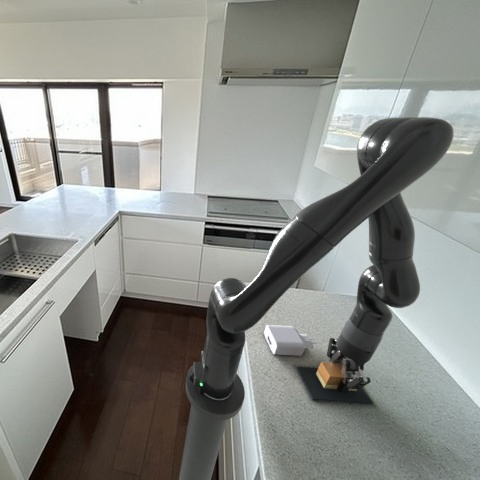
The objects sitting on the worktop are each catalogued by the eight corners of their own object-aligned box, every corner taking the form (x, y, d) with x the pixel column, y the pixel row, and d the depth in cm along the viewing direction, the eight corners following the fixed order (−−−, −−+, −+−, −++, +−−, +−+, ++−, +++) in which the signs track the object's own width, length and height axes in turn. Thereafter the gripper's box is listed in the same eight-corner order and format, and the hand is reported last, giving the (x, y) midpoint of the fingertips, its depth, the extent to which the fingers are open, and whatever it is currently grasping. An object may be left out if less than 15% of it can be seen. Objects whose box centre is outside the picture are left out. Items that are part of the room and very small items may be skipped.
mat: (312, 400, 69) (313, 398, 68) (296, 367, 78) (296, 366, 77) (372, 404, 68) (373, 403, 68) (349, 371, 77) (349, 370, 77)
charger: (320, 358, 81) (273, 355, 81) (305, 335, 90) (263, 333, 89) (325, 347, 79) (277, 345, 79) (309, 325, 87) (266, 323, 87)
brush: (323, 388, 70) (330, 376, 68) (315, 373, 75) (321, 361, 72) (356, 390, 70) (363, 378, 68) (346, 376, 74) (353, 364, 72)
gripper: (329, 317, 72) (310, 359, 79) (363, 360, 59) (336, 406, 66) (356, 319, 71) (334, 361, 79) (396, 363, 58) (366, 409, 66)
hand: (335, 381), depth 72 cm, fingers closed on brush, 4 cm apart
